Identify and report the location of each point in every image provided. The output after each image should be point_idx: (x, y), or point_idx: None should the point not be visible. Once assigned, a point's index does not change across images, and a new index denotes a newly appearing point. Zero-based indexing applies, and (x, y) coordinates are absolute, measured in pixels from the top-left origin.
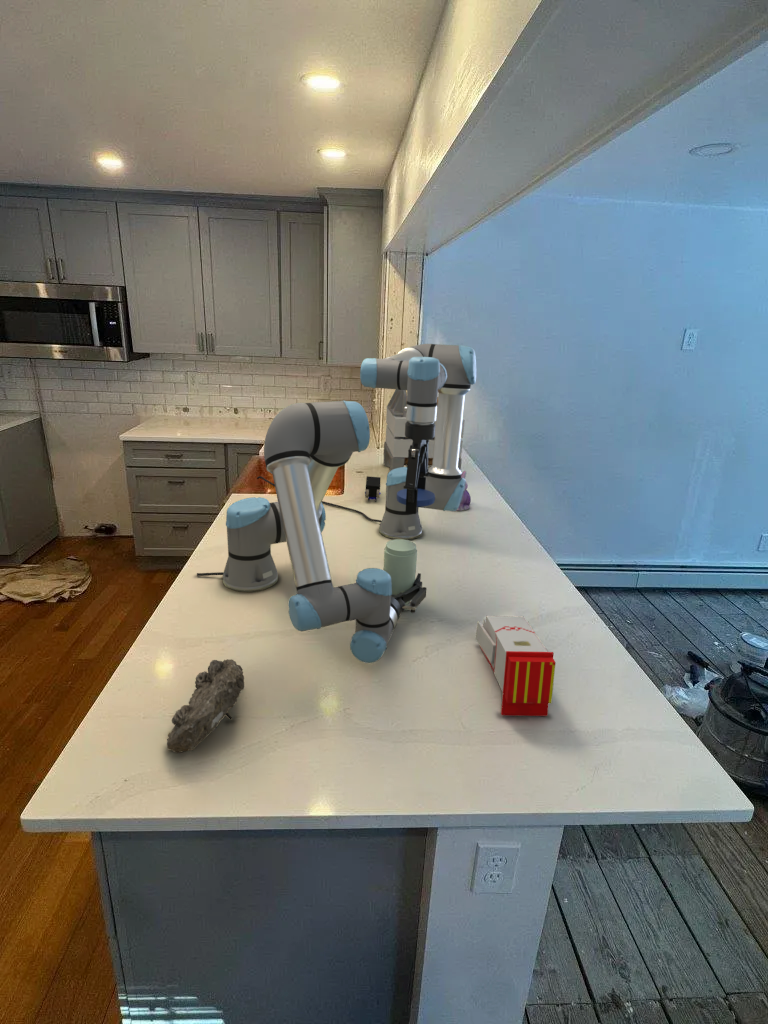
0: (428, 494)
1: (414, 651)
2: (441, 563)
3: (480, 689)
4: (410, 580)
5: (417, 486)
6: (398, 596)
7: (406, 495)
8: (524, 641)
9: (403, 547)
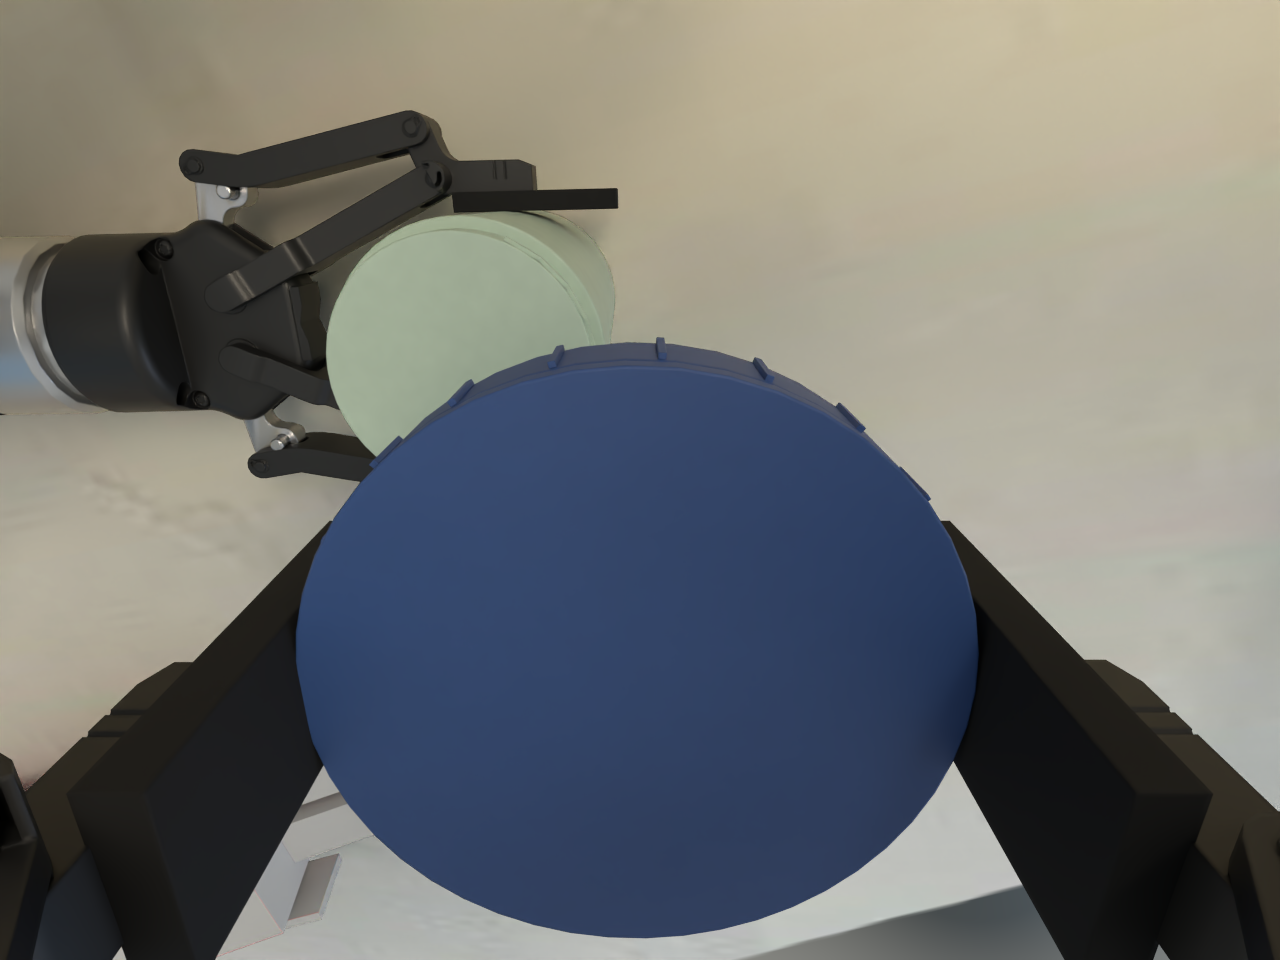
0: (702, 859)
1: (163, 467)
2: (1069, 425)
3: (75, 709)
4: None
5: (1002, 683)
6: (260, 379)
7: (182, 678)
8: None
9: (416, 402)
